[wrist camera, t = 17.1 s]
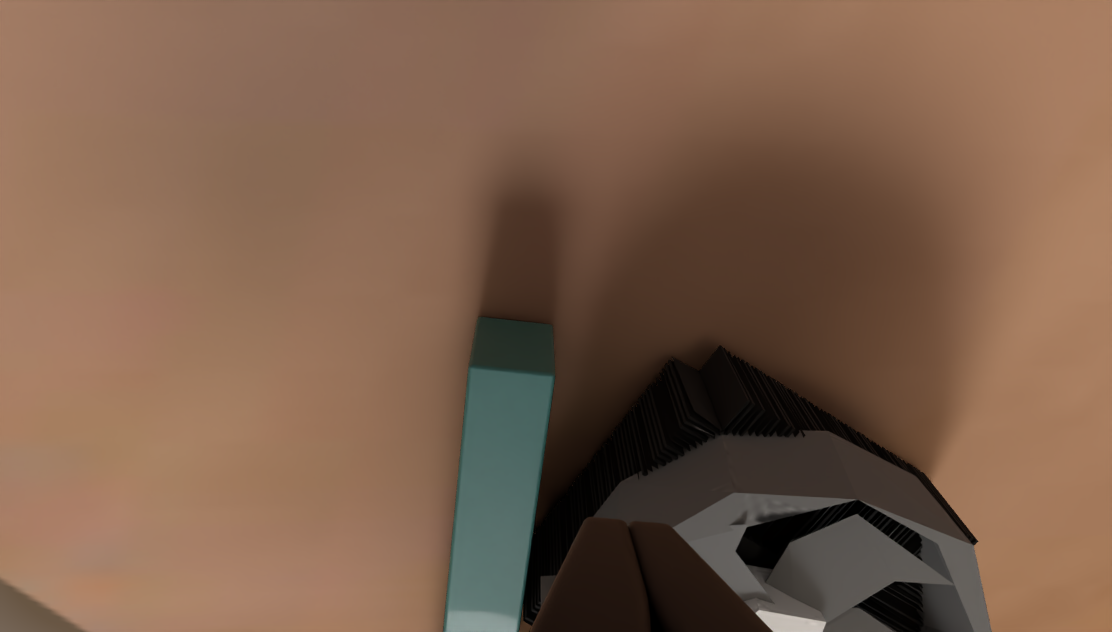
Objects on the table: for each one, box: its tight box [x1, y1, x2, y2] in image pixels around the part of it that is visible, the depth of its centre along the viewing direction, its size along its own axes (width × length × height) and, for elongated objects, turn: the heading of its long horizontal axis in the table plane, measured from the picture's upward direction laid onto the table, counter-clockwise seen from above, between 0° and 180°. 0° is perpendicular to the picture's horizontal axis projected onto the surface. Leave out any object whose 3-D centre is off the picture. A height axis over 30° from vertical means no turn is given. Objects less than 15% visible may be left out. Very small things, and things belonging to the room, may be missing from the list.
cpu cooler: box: [523, 346, 992, 632], centre depth 21 cm, size 10×6×10 cm
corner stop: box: [443, 317, 555, 632], centre depth 23 cm, size 14×13×3 cm
